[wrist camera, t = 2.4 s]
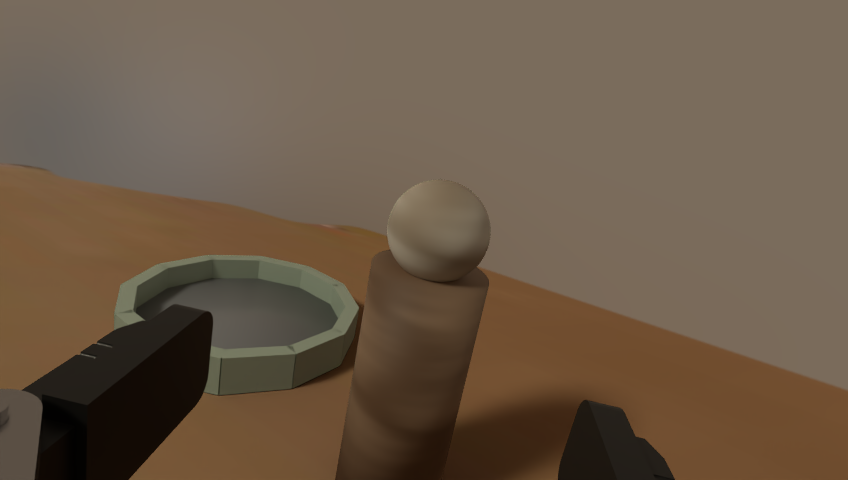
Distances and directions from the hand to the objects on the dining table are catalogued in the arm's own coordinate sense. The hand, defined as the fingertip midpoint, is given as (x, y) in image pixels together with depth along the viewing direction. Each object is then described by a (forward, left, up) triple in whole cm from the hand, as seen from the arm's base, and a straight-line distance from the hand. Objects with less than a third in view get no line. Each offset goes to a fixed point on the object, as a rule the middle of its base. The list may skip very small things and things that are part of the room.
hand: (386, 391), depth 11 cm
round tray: (+13, -24, -13) cm, 30 cm away
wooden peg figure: (0, -12, -13) cm, 18 cm away
